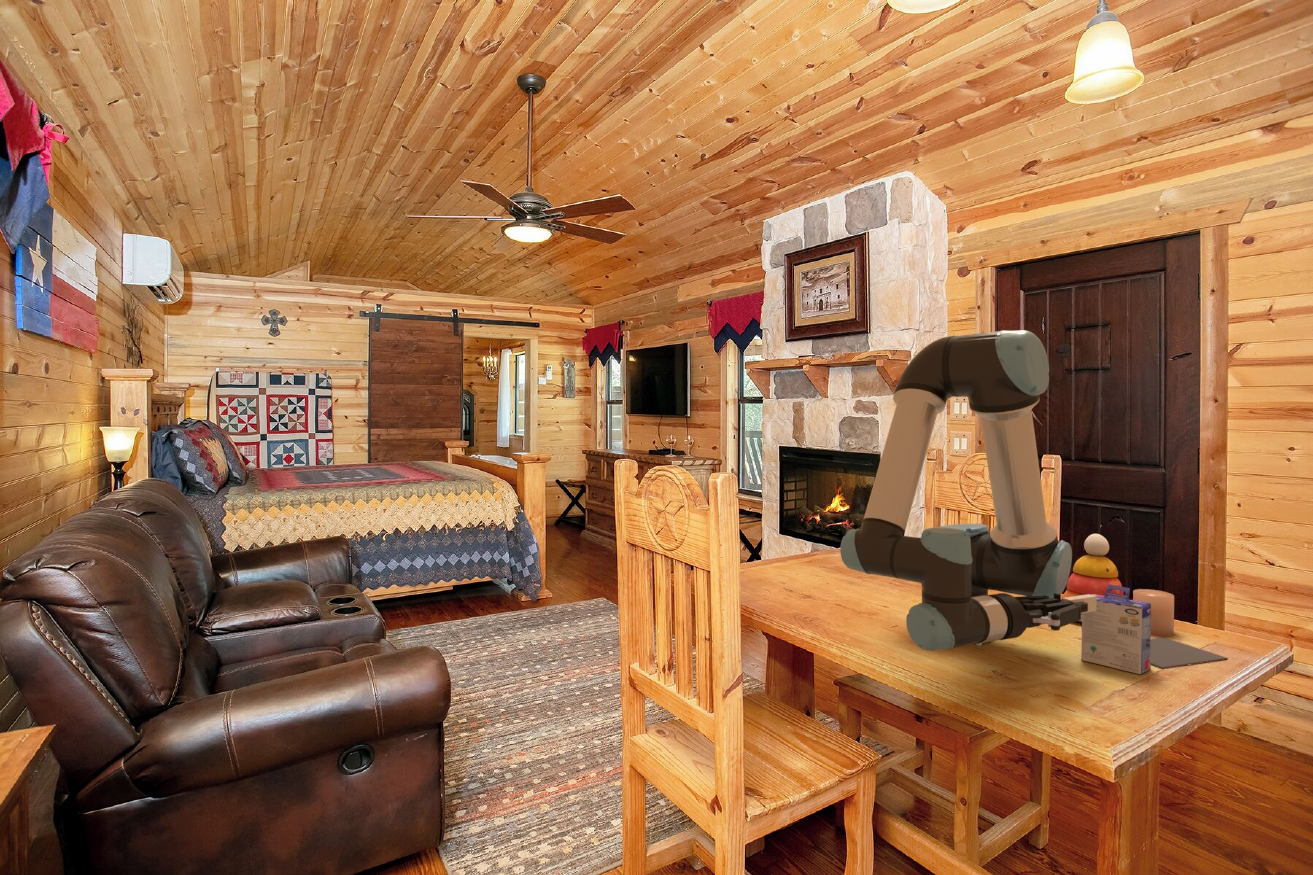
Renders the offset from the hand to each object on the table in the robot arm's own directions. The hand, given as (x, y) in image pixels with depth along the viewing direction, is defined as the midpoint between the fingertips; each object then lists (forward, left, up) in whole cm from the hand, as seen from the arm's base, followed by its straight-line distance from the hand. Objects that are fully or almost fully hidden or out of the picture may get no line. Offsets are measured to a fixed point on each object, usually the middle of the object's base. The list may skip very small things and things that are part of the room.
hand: (1092, 602), depth 120 cm
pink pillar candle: (-14, +32, -13) cm, 37 cm away
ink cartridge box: (-1, +7, -13) cm, 14 cm away
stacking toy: (-23, +27, -13) cm, 38 cm away
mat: (-3, +21, -13) cm, 24 cm away
